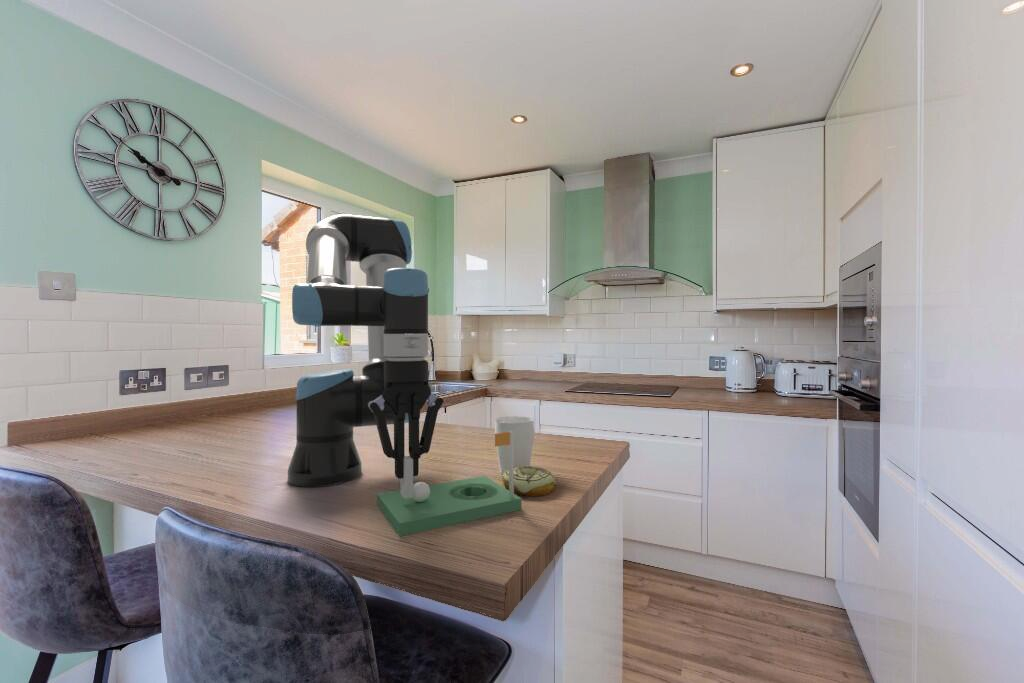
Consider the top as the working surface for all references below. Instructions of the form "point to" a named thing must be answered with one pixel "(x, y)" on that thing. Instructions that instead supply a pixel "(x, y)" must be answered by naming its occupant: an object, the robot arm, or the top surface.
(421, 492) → the ball
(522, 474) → the decorated donut
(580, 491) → the top surface
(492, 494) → the green
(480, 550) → the top surface
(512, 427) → the cup
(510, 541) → the top surface
